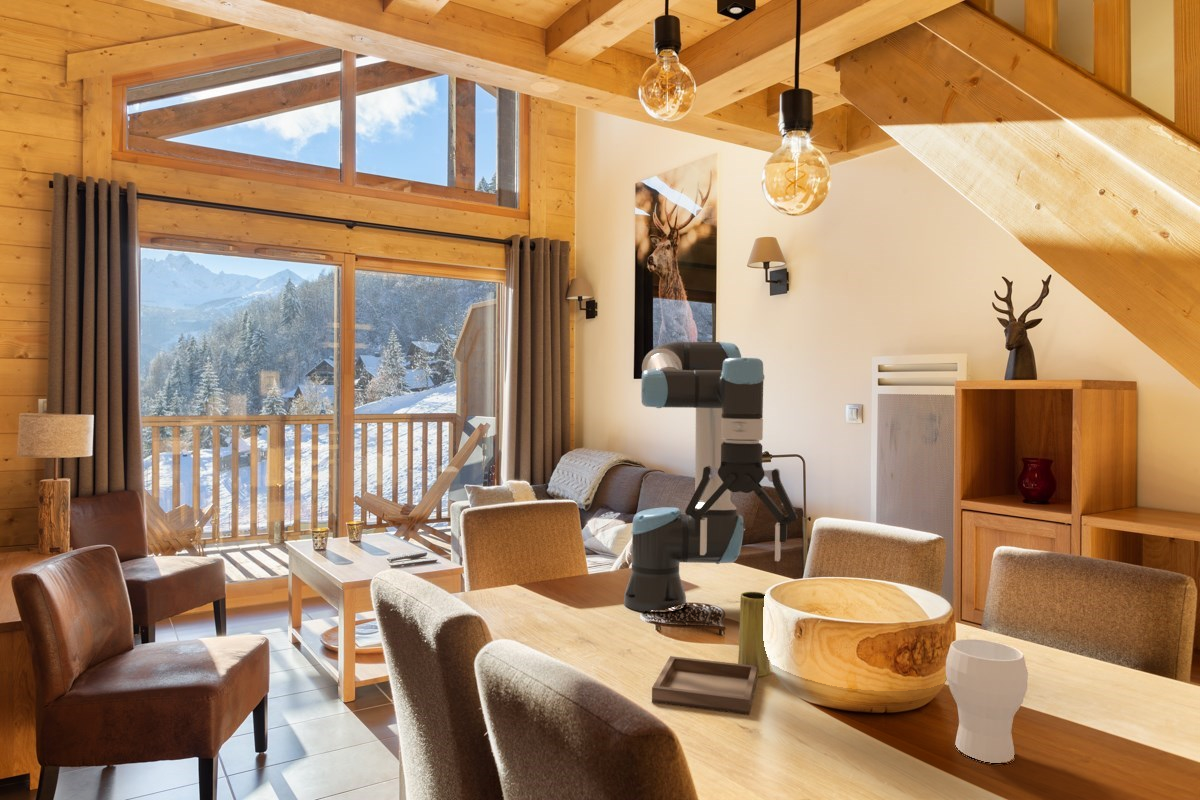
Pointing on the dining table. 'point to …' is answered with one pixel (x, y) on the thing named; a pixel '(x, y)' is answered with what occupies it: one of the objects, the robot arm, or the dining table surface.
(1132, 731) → the dining table surface
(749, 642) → the vase
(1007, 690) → the cup
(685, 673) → the walnut tray
